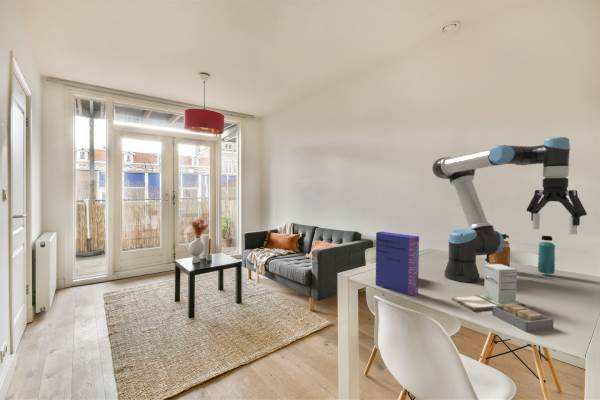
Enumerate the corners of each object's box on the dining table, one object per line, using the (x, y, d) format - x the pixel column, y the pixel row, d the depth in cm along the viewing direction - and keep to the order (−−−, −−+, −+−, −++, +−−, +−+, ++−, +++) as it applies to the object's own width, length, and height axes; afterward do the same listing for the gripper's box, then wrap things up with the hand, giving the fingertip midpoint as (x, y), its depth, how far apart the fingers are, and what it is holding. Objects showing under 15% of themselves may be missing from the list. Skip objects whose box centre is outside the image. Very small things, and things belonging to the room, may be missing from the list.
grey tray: (492, 316, 98) (492, 306, 98) (516, 313, 100) (516, 303, 100) (526, 333, 86) (526, 322, 86) (553, 330, 88) (553, 319, 88)
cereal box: (418, 293, 120) (419, 236, 119) (412, 296, 116) (413, 237, 115) (381, 282, 133) (382, 231, 132) (375, 285, 129) (376, 232, 129)
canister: (510, 274, 146) (511, 235, 146) (484, 270, 152) (485, 233, 151) (508, 269, 154) (509, 232, 153) (484, 266, 160) (485, 231, 159)
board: (451, 300, 111) (451, 297, 111) (498, 296, 116) (498, 293, 116) (474, 313, 101) (474, 308, 100) (525, 307, 105) (525, 303, 105)
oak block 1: (503, 316, 97) (503, 304, 97) (513, 315, 98) (513, 303, 98) (514, 321, 93) (515, 309, 93) (524, 320, 94) (525, 308, 94)
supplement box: (483, 295, 113) (484, 264, 112) (500, 295, 113) (501, 263, 113) (498, 303, 105) (499, 269, 105) (516, 302, 106) (517, 268, 105)
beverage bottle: (557, 277, 141) (559, 237, 140) (542, 276, 142) (543, 236, 142) (549, 273, 147) (550, 235, 147) (534, 272, 149) (535, 234, 148)
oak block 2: (517, 322, 92) (517, 310, 92) (527, 321, 93) (528, 309, 93) (529, 328, 88) (530, 316, 88) (540, 327, 89) (540, 314, 89)
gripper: (601, 176, 101) (599, 236, 102) (531, 178, 125) (529, 227, 126) (585, 176, 99) (582, 237, 100) (517, 178, 124) (515, 227, 125)
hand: (553, 231), depth 113 cm, fingers open, 13 cm apart
